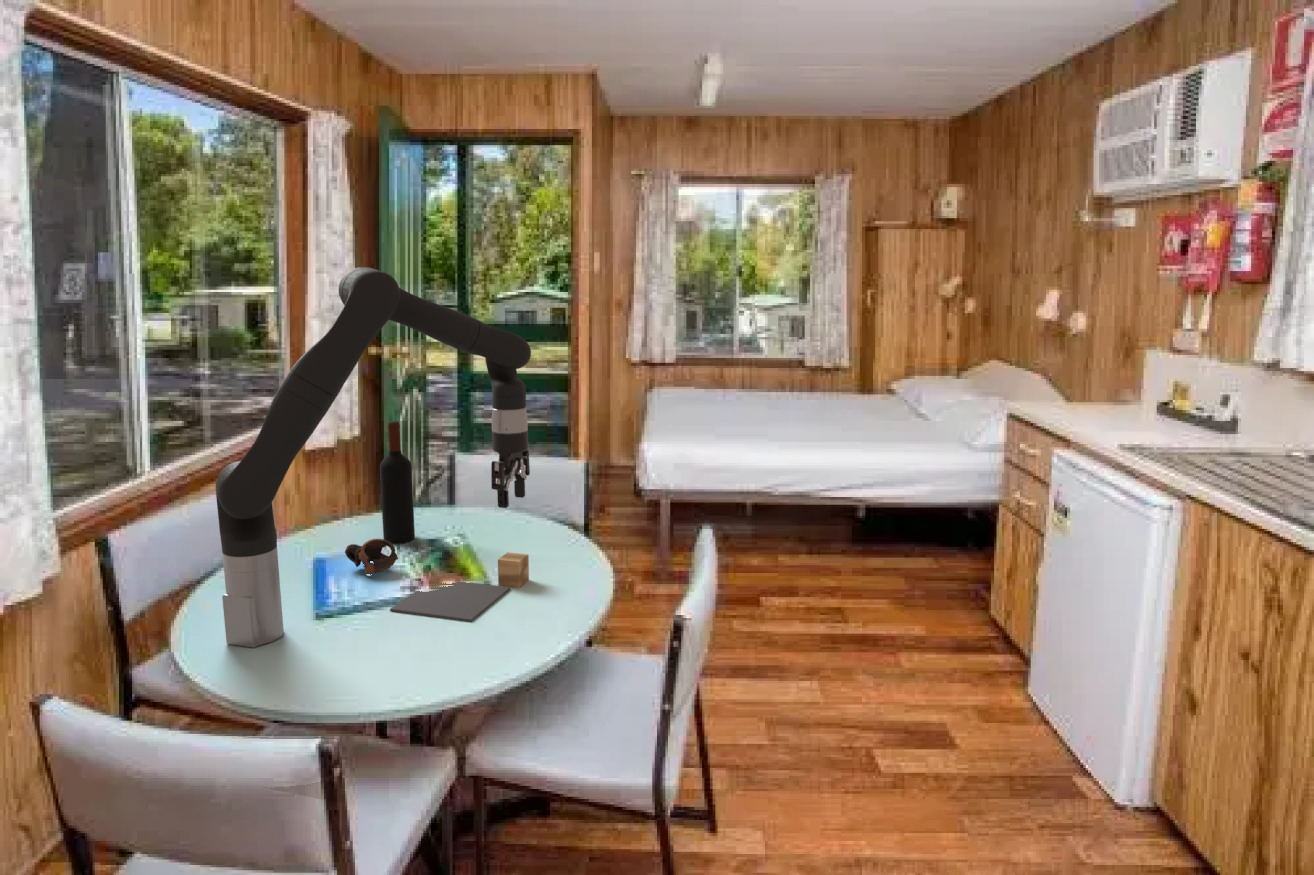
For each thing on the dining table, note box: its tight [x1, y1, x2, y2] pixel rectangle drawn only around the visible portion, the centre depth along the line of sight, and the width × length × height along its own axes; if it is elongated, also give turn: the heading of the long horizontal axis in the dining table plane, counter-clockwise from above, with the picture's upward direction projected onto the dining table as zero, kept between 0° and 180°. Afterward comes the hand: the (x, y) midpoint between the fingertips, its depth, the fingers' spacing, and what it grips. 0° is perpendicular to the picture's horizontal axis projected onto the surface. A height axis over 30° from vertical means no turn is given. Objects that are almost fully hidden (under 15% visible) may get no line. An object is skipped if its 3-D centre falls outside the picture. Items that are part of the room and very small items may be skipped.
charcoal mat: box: [389, 580, 511, 622], centre depth 187 cm, size 18×18×1 cm
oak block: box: [497, 552, 530, 589], centre depth 196 cm, size 5×5×6 cm
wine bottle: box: [379, 420, 416, 545], centre depth 222 cm, size 8×8×30 cm
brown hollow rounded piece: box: [344, 538, 399, 576], centre depth 203 cm, size 12×9×8 cm
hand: (511, 502), depth 193 cm, fingers open, 8 cm apart
